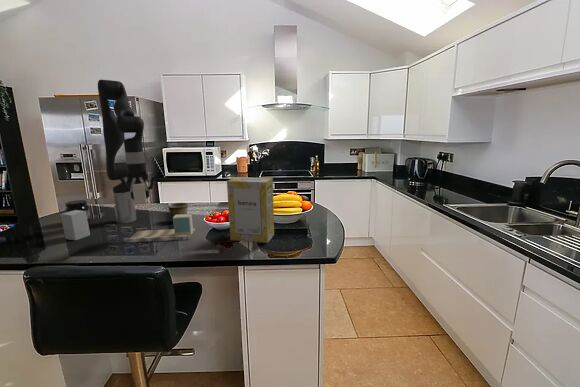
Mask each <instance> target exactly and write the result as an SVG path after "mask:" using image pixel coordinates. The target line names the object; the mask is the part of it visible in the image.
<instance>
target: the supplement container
mask: <svg viewBox="0 0 580 387" xmlns="http://www.w3.org/2000/svg"><path fill="white" fill-rule="evenodd" d="M74 210H79V211H86V216H87V221H88V223H89V222H91V220H92V218H91V215H90V214H91V213H90V206H89V205H88V203H87V200H86V199H76V200H72V201H67V202H65V213H67V212H70V211H74Z"/></svg>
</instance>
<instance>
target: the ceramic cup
mask: <svg viewBox="0 0 580 387" xmlns="http://www.w3.org/2000/svg"><path fill="white" fill-rule="evenodd" d="M188 208H189V203H187V202H175V203H171V204H169V205H168V210H169V213H170V217H171V219H172V221H173V217H174V216H175V215H180V214H188Z"/></svg>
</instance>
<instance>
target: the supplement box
mask: <svg viewBox="0 0 580 387" xmlns="http://www.w3.org/2000/svg"><path fill="white" fill-rule="evenodd" d="M59 216H60V219H61V223H62V224H61V225H62V228H63V233H64V238H65V240H70V241H78V240H81V239H83V238H86V237H89V236H90V235H91V232H90V226H89V222H88V221H87V216H86V211H79V210H74V211H70V212H67V213H66V212H63V213H60V215H59Z"/></svg>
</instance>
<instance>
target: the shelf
mask: <svg viewBox="0 0 580 387" xmlns="http://www.w3.org/2000/svg"><path fill="white" fill-rule="evenodd" d="M196 229H197V228H196V227H193V233H194V232H195V230H196ZM193 233H192V234H191V235H178V236H175V232H174V228H171V229H169V228H168V229H152V230H151V229H150V230H149V229H148V230H138V231H136V232H135V233H134V234H132V235H131V236H130V237H129V238H128V237H126V238H123V240H124V241H123V242H124V243H125V244H126V243H128V244H129V243H144V242H146V243H148V242H165V241H166V242H167V241H183V240H185V241H186V240H187V241H188V240H190V238H191V237H192V235H193Z"/></svg>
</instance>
